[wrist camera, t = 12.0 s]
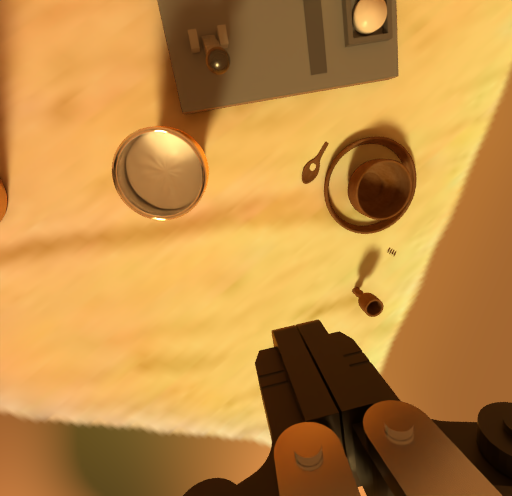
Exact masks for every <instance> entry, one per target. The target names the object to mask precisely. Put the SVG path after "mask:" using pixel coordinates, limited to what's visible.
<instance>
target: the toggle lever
mask: <svg viewBox="0 0 512 496" xmlns="http://www.w3.org/2000/svg"><path fill="white" fill-rule="evenodd" d="M201 37H202V43H203V49H204V52H205V54H206V65H207V67H208V69H209V70H210V71H211V72H212V73H214V74H216V75H221V74H224V73H225V72H227V70H228V69H229V67H230V56H229V54H228V52H227V51H226V50H225V49H224V48H222V47H221V46H220V44H219V42H218V41H217V39H216V38H215V36H214V34H213V35H207V36H201Z"/></svg>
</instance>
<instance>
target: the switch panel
mask: <svg viewBox="0 0 512 496" xmlns="http://www.w3.org/2000/svg"><path fill="white" fill-rule="evenodd" d="M157 1H158V5H159V10H160V14H161V19H162V23H163V28H164V32H165V37H166V41H167V45H168V50H169V54H170V59H171V63H172V68H173V72H174V77H175V81H176V86H177V90H178V94H179V99H180V103H181V108H182V112H183V114H189V113H195V112H201V111H207V110H213V109H219V108H225V107H230V106H236V105H242V104H248V103H254V102H260V101H266V100H272V99H277V98H283V97H289V96H295V95H301V94H307V93H313V92H318V91H324V90H330V89H336V88H342V87H348V86H354V85H360V84H365V83H371V82H377V81H383V80H389V79H392V78H394V77H397V76H398V46H397V9H396V0H384V1H385V3H386V6H387V16H386V20H385V22H384V23H383V25H382V26H381V27H380V28H379V29H377V30H376V31H374V32H373V33H371V34H368V35H363V34H360V33H359V32H357V31H356V30H355V28H354V26H353V24H352V12H353V9H354V7H355V5H356V4H357V3H358V2H359V1H360V0H157ZM213 34H214V36H215V38H216V39H217V41H218V42H219V44H220V46H221V47H222V48H224V49H225V50H226V51H227V52H228V54H229V56H230V67H229V69H228V70H227V72H225V73H224V74H221V75H216V74H214V73H212V72H211V71H210V70H209V69H208V67H207V65H206V54H205V52H204V49H203V43H202V37H201V36H207V35H213Z"/></svg>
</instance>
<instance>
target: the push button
mask: <svg viewBox="0 0 512 496" xmlns="http://www.w3.org/2000/svg"><path fill="white" fill-rule="evenodd" d="M386 16H387V6H386V3H385V1H384V0H360V1H359V2H358V3H357V4H356V5H355V7H354V9H353V12H352V24H353V26H354V28H355V30H356V31H357V32H359V33H360V34H363V35H368V34H371V33H373V32H374V31H376V30H377V29H379V28H380V27H381V26H382V25H383V23H384V22H385V20H386Z"/></svg>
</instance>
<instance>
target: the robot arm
mask: <svg viewBox="0 0 512 496" xmlns="http://www.w3.org/2000/svg"><path fill="white" fill-rule="evenodd" d="M6 208H7V194H6V191H5V188H4V185H3V183H2V181H1V179H0V221H1V220H2V219H3V217H4V215H5V212H6ZM272 338H273V343H274V347H273V348H269V349H265V350H260V351H259V353H258V356H257V359H256V362H255V366H256V370H257V375H258V380H259V385H260V390H261V395H262V400H263V404H264V409H265V413H266V418H267V422H268V426H269V430H270V435H271V439H272V447H271V451H270V454H269V456H268V458H267V460H266V462H265V463H264V464H263V466H262V467H261V468H260V469H259V470H258V471H257V472H255V473H254V474H253V475H251V476H250V477H248V478H247V479H245V480H244V481H242V482H241V483H239V484H238V485H236V484H234V483H233V482H231V481H229V480H227V479H222V478H212V479H207V480H204V481H202V482H200V483H198V484H196V485H194V486H193V487H192V488H191V489H189V490H188V491H187V492H186V493H185V494H184V495H183V496H361V495H360V493H359V490H358V487H359V486H363V488H364V491H365V493H366V495H367V496H512V403H508V402H497V403H492V404H489V405H486V406H485V407H483V408H482V409H481V410H480V412H479V414H478V422H448V421H447V422H446V421H437V420H433V419H430V418H429V417H428V416H427V415H426V414H425V413H424V412H423V411H421V410H420V409H418V408H417V407H415V406H413V405H411V404H408V403H405V402H402V401H400V400H399V399H398V397H397V396H396V395H395V393H394V392H393V391H392V389H391V388H390V387H389V385H388V384H387V383H386V382H385V380H384V379H383V378H382V376H381V375H380V374H379V372H378V371H377V370H376V368H375V367H374V366H373V365H372V363H370V362H369V359H368V358H367V357H366V355H365V354H364V353H362V350H361V349H360V348H359V346H358V345H357V344H356V342H355V341H354V340H353V339H352V338H350V337H348V336H347V335H345V334H343V333H341V332H340V331H339V332H335V333H331V334H328V332H327V331H326V329H325V328H324V326H323V325H322V323H321V322H320V320H314V321H310V322H305V323H301V324H297V325H296V326H295V325H293V326H289V327H285V328H280V329H276V330H272Z"/></svg>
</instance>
